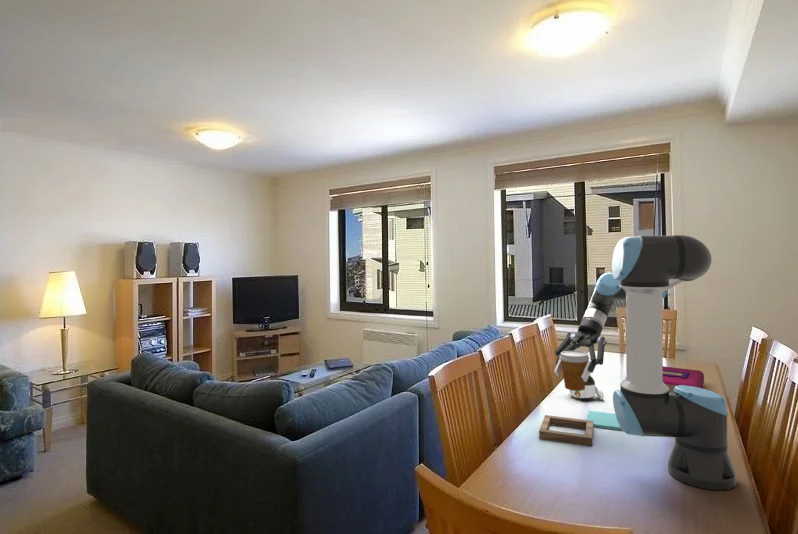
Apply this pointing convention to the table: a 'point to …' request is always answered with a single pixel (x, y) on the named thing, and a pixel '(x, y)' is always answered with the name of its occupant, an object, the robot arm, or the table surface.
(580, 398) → the spread jar
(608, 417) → the mat
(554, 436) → the pocket frame
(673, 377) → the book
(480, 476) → the table surface
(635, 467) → the table surface
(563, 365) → the disposable coffee cup
